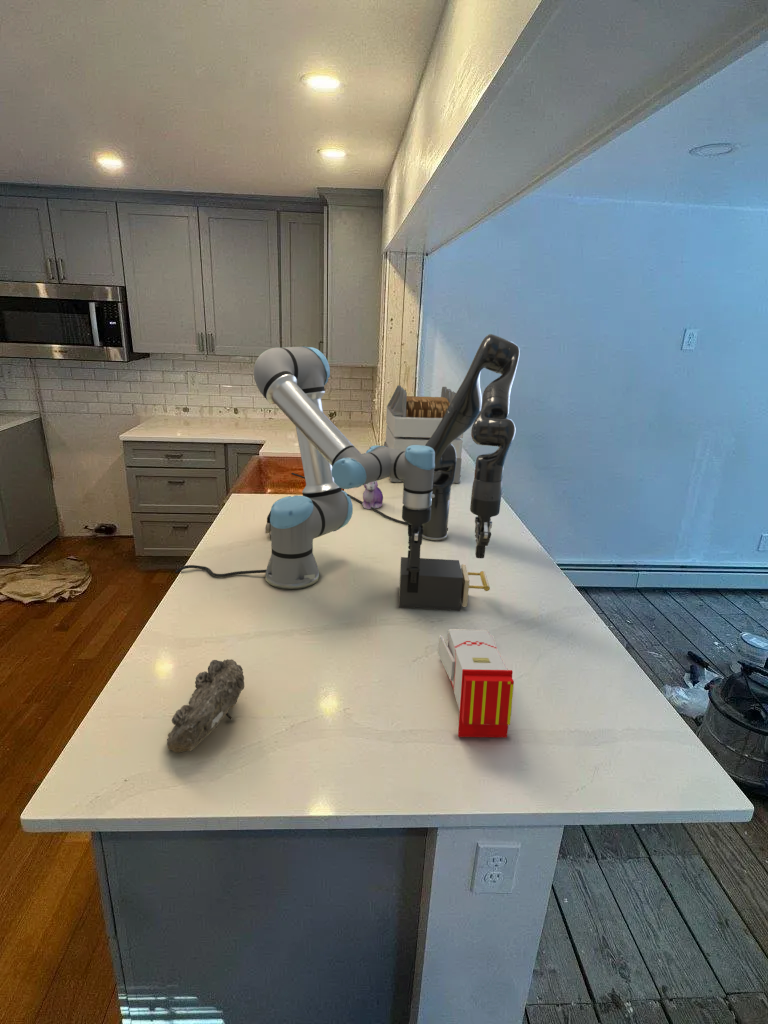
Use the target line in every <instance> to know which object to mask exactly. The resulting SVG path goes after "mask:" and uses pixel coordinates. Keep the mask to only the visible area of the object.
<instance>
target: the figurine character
mask: <svg viewBox="0 0 768 1024" xmlns="http://www.w3.org/2000/svg"><path fill="white" fill-rule="evenodd" d="M270 516H271V510H269V512H268V515H267V517H266V524H265V533H266V534H269V536H270V538H271V523H270Z"/></svg>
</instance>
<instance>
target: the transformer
mask: <svg viewBox="0 0 768 1024" xmlns="http://www.w3.org/2000/svg"><path fill="white" fill-rule="evenodd" d="M440 393H441V394H440V396H415V395H414V396H413V395H412V396H411V395H407V394H408V393H407V390H406V389H404V388H403V387H402V385H399V384H398V385H397V386H396V388H395V390H394V392H393V394H392V395H391V398H390V400H389V402H388V404H387V405H386V413H385V414H386V415H385V423H386V428H385V438H384V442H383V446H386V447H389V448H393V449H397V450H402V451H406V448H407V447H408V446H411V445H422V446H423V445H424V446H425V445H426V443H427V442H428V440H429V439H430V438H431V436H432V435H433V433H434V432H435V430H436V429H437V427H438V425H439V424H440V422H441V420H442V418H443V417H444V415H445V413H446V411H447V409H448V407H449V405H450V403H451V401H452V399H453V398H454V396H455V394H456V393H457V392H455V391H453V390H452V389H451V388H447V386H442V387H441V392H440ZM463 438H464V433H463V434H462V435H460V436H459V437H458V438H456V439H455V440H454V441H453V442H451V443H450V444H452V445H453V446H454V448H455V450H456V468H455V475H454V481H453V484H455V483H456V484H459V483H461V472H462V461H463V460H462V453H463V442H464V441H463V440H462V439H463ZM388 478H389V480H390V482H391V483H402V482H403V480H398V479H394V478H390V477H388Z"/></svg>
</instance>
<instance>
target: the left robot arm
mask: <svg viewBox="0 0 768 1024" xmlns="http://www.w3.org/2000/svg"><path fill="white" fill-rule="evenodd" d="M330 376H331V368H330V363H329V361H328V359H327V357H326V356H325V354H323V352H321V350H319V349H318V348H315V347H312V346H304V345H302V346H288V347H271V348H268V349H266V350H264V351H263V352H262V353H261V354H259V356H258V357H257V359H255V363H254V366H253V379H254V383H255V385H256V387H257V389H258V390H259V392H260V394H261V395H262V396H263V398H265V400H266V401H267V402H268V403H269V404H272V405H276V406H277V407H278V409H280V411H281V412H282V413H283V414H284V415H285V416H286V417H287V418H288V419H289V420H290V422H291V423H292V424H293V425H294V427H295V430H296V437H297V441H298V447H299V453H300V459H301V463H302V464H301V465H302V469H303V475H304V477H305V479H304V480H305V486H304V488H303V490H302V491H301V493H302V495H293V496H292V495H288V496H284V497H282V498H279V499H278V500H276V501H275V502H273V504H272V505H271V506H270V507H271V508H270V511H271V516H270V523H271V531H270V535H271V537H270V540H271V541H270V547H271V548H270V549H271V553H270V557H269V560H268V563H267V566H266V569H253V570H237V571H232V572H227V573H226V572H225V573H215V572H213V571H212V570H211V568H209V567H207V566H203V565H195V564H188V565H183V566H181V567H179V568H177V569H176V570H175V574H178V573H180V572H182V571H183V570H187V569H198V570H204V571H207V572H208V574H209V575H211V576H213V577H216V578H226V577H230V576H237V575H250V574H265V581H266V583H267V584H269V585H270V586H271V587H274V588H277V589H282V590H300V589H304V588H308V587H310V586H313V585H314V584H316V583H317V582H318V581H319V579H320V570H319V567H318V564H317V561H316V558H315V555H314V545H313V544H314V539H317V538H319V537H322V536H325V535H327V534H330V533H332V532H337V531H338V530H340V529H342V528H343V527H345V526H347V525H348V524H349V522H350V521H351V519H352V516H353V511H354V507H353V502H352V498H350V497H349V496H347V494H348V492H346V491H345V490H351V489H357V488H360V487H362V486H364V484H367V483H370V482H374V481H377V482H378V481H380V480H383V479H386V478H389V477H390V478H394V479H398V480H402V482H403V488H402V504H403V505H402V508H401V519H402V521H404V522H407V523H410V524H407V535H408V542H407V544H408V546H407V549H408V551H407V557H408V558H410V564H409V568H406V571H408V586H407V592H412V593H418V579H419V571H420V568H419V566H420V558H421V545H423V538H422V535H423V525H421V524H425V523H428V522H429V521H430V519H431V507H430V506H431V504H432V498H434V497H435V495H434V494H432V490H433V477H434V473H435V471H434V468H435V451H434V449H433V448H431V447H429V446H424V445H423V446H422V445H411V446H408V447H407V448H406V451H402V450H397V449H393V448H389V447H386V446H384V445H378V444H376V445H371V446H370V447H369V449H367V450H366V451H365V452H364V453H361V452H360V450H359V449H358V448H357V447H355V445H354V444H353V443H352V442H351V441H350V440H349V439H348V438H347V437H346V436H345V434H344V433H343V432H342V431H341V430H340V429H339V428H338V427H337V426H336V425H335V423H333V421H331V419H329V417H328V416H327V415H326V414H325V413H324V408H323V403H322V398H323V396H324V395H325V393H326V390H325V385H327V383H328V382H329V378H330ZM390 478H389V479H390Z"/></svg>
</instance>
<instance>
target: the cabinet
mask: <svg viewBox="0 0 768 1024" xmlns="http://www.w3.org/2000/svg"><path fill="white" fill-rule="evenodd" d="M460 563H461V562H460V560H459V559H443V558H423V557H420V566H419V568H420V571H419V579H418V593H412V592H407V586H408V571H406V568H409V564H410V558H408V556H407V557H405V556H400V566H399V567H400V569H399V582H398V583H399V586H398V608H400V609H403V608H404V609H417V610H418V609H419V610H435V611H454V612H455V611H458V612H460V611H461V603H462V602H461V592H462V582H463V576H462V572H461V564H460Z"/></svg>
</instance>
